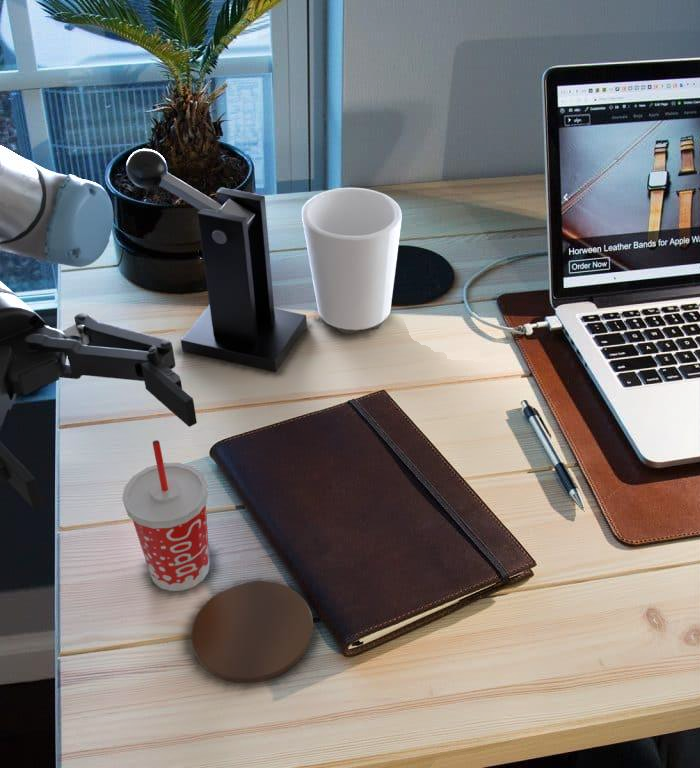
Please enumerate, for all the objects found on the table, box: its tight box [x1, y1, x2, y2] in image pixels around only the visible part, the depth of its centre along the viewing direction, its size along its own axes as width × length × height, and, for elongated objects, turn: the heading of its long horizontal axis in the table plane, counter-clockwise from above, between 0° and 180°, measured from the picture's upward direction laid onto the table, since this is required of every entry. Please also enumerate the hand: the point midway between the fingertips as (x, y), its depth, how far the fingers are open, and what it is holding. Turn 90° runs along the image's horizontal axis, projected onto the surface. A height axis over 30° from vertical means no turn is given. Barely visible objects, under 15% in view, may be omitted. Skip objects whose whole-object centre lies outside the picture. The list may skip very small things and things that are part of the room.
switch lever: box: [125, 148, 255, 229], centre depth 97 cm, size 12×4×4 cm, turn 77°
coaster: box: [191, 580, 314, 684], centre depth 80 cm, size 9×9×1 cm
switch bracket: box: [180, 187, 308, 373], centre depth 102 cm, size 10×8×16 cm
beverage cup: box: [121, 439, 211, 592], centre depth 79 cm, size 6×6×14 cm
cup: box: [300, 187, 403, 335], centre depth 107 cm, size 10×10×13 cm
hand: (116, 451), depth 82 cm, fingers open, 13 cm apart
